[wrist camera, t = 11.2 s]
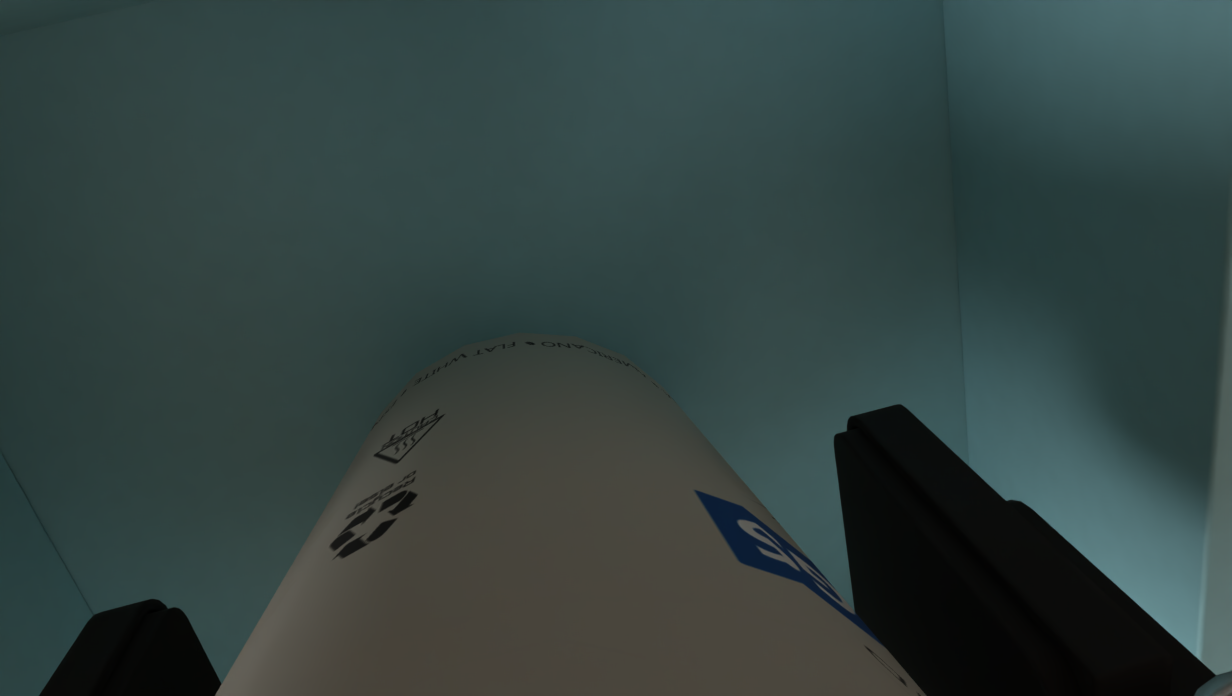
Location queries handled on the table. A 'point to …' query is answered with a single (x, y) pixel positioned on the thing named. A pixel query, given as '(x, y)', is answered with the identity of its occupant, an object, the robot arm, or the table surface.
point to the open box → (604, 265)
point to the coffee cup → (552, 553)
